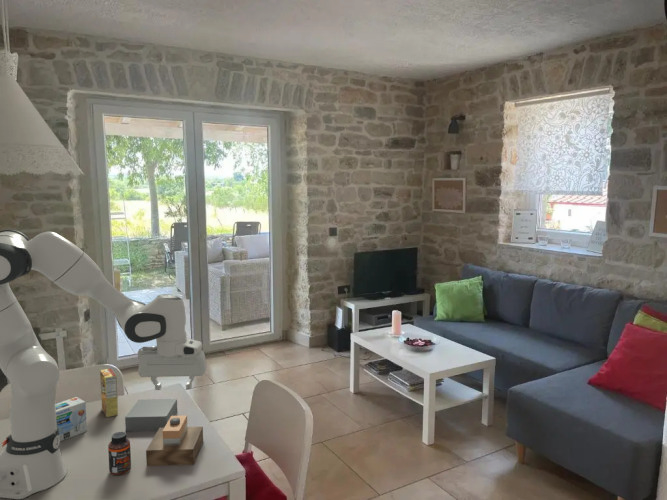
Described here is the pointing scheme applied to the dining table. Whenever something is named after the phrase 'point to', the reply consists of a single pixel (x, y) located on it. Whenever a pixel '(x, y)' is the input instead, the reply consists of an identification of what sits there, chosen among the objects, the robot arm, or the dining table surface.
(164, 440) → the housing base
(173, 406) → the stand
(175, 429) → the cover
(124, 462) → the supplement bottle
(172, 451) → the stand
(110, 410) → the candy box
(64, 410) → the light bulb box
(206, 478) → the dining table surface
